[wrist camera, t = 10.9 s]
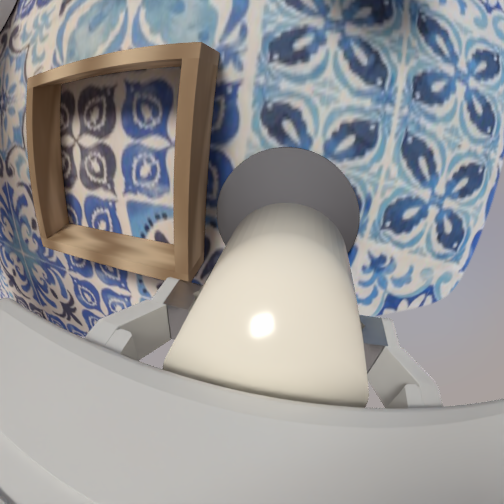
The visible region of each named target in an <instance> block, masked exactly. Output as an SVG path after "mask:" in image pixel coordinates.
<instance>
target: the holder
mask: <svg viewBox="0 0 504 504" xmlns="http://www.w3.org/2000/svg"><path fill="white" fill-rule="evenodd" d="M219 54H220V53H219V52H217V51H216V50H214V49H212V48H211V47H209V46H207V45H206V44H204V43H202V42H192V43H177V44H166V45H156V46H148V47H141V48H135V49H129V50H123V51H118V52H113V53H108V54H104V55H99V56H95V57H91V58H87V59H84V60H80V61H76V62H73V63H70V64H66V65H63V66H60V67H57V68H54V69H51V70H48V71H46V72H43V73H40V74H38V75H35V76H33V77H30V78H28V83H27V104H26V130H27V150H28V163H29V172H30V181H31V188H32V195H33V201H34V207H35V212H36V217H37V222H38V227H39V231H40V235H41V240H42V244H43V247H47V248H50V249H53V250H56V251H59V252H63V253H66V254H69V255H73V256H76V257H79V258H83V259H86V260H90V261H93V262H97V263H100V264H104V265H107V266H111V267H115V268H118V269H122V270H126V271H129V272H133V273H137V274H141V275H145V276H149V277H153V278H157V279H161V280H166V279H167V278H168V277H172V278H176V279H180V280H184V281H188V282H191V281H192V280H193V278H194V276H195V275H196V273H197V271H198V270H199V268H200V267H201V265H202V263H203V262H204V239H205V215H206V195H207V179H208V164H209V150H210V138H211V127H212V116H213V106H214V96H215V87H216V78H217V70H218V62H219ZM180 66H181V75H180V84H179V95H178V107H177V120H176V137H175V159H174V245H173V244H168V243H163V242H158V241H153V240H148V239H143V238H138V237H133V236H128V235H123V234H118V233H113V232H109V231H104V230H99V229H94V228H89V227H84V226H80V225H75V224H70V223H69V219H68V213H67V206H66V199H65V191H64V182H63V172H62V160H61V141H60V101H61V84H64V83H68V82H72V81H76V80H80V79H85V78H89V77H94V76H100V75H105V74H111V73H117V72H124V71H132V70H140V69H150V68H162V67H180Z"/></svg>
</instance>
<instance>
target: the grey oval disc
mask: <svg viewBox="0 0 504 504" xmlns="http://www.w3.org/2000/svg"><path fill="white" fill-rule="evenodd" d="M277 203H294V204H300V205H304V206H307V207H310V208H313V209H315V210H317V211H318V212H320V213H322V214H323V215H325V216H326V217H327V218H329V219H330V220H331V221H332V222H333V223H334V224H335V226H336V227H337V228H338V230H339V231H340V233H341V235H342V237H343V239H344V242H345V246H346V250H347V253H348V252H349V251H350V249H351V247H352V245H353V244H354V241H355V239H356V236H357V232H358V228H359V218H360V217H359V206H358V202H357V198H356V195H355V193H354V190H353V188H352V186H351V185H350V183H349V181H348V179H347V178H346V177H345V175H344V174H343V173H342V172H341V171H340V170H339V169H338V168H337V167H336V166H335V165H334V164H333V163H332V162H330V161H329V160H328V159H326V158H324V157H323V156H321V155H319V154H317V153H314V152H312V151H309V150H305V149H301V148H293V147H279V148H272V149H268V150H265V151H261V152H259V153H257V154H255V155H253V156H251V157H249V158H248V159H246V160H245V161H243V162H242V163H241V164H240V165H239V166H238V167H236V168H235V169H234V170H233V172H232V173H231V174H230V175H229V176H228V178H227V180H226V181H225V183H224V185H223V187H222V189H221V191H220V194H219V198H218V203H217V223H218V228H219V231H220V234H221V237H222V239H223V242H224V243H225V245H227V243H228V241H229V239H230V238H231V236H232V234H233V232H234V231H235V229H236V228H237V226H238V225H239V223H240V222H241V221H242V220H243V219H244V218H245V217H246V216H248V215H249V214H250V213H252V212H253V211H255V210H257V209H259V208H262V207H264V206H267V205H271V204H277Z"/></svg>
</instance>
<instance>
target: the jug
mask: <svg viewBox="0 0 504 504" xmlns="http://www.w3.org/2000/svg"><path fill="white" fill-rule="evenodd" d="M163 370H165V371H169V372H172V373H175V374H178V375H181V376H185V377H188V378H192V379H195V380H199V381H202V382H206V383H210V384H214V385H218V386H222V387H226V388H230V389H234V390H239V391H243V392H248V393H253V394H258V395H263V396H268V397H274V398H280V399H286V400H293V401H299V402H307V403H315V404H324V405H334V406H346V407H362V408H365V406H366V404H367V402H368V397H369V389H368V378H367V368H366V360H365V352H364V344H363V337H362V330H361V324H360V317H359V311H358V305H357V300H356V294H355V289H354V284H353V278H352V273H351V269H350V264H349V259H348V255H347V250H346V246H345V242H344V239H343V237H342V235H341V233H340V231H339V230H338V228H337V227H336V226H335V224H334V223H333V222H332V221H331V220H330V219H329V218H327V217H326V216H325V215H323V214H322V213H320V212H318V211H317V210H315V209H313V208H310V207H307V206H304V205H300V204H294V203H277V204H271V205H267V206H264V207H262V208H259V209H257V210H255V211H253V212H252V213H250V214H249V215H248V216H246V217H245V218H244V219H243V220H242V221H241V222H240V223H239V225H238V226H237V228H236V229H235V231H234V232H233V234H232V236H231V238H230V239H229V241H228V243H227V245H226V247H225V248H224V250H223V252H222V254H221V256H220V257H219V259H218V261H217V263H216V265H215V266H214V268H213V270H212V272H211V274H210V275H209V277H208V279H207V281H206V283H205V285H204V286H203V288H202V290H201V292H200V294H199V296H198V297H197V299H196V301H195V303H194V305H193V307H192V309H191V310H190V312H189V314H188V316H187V318H186V320H185V322H184V324H183V325H182V327H181V329H180V331H179V333H178V335H177V337H176V339H175V341H174V343H173V344H172V346H171V348H170V350H169V352H168V354H167V356H166V358H165V361H164V364H163Z"/></svg>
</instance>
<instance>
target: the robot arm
mask: <svg viewBox="0 0 504 504" xmlns="http://www.w3.org/2000/svg"><path fill="white" fill-rule="evenodd" d="M16 1H17V0H0V31H1V30H2V28H3V26H4V25H5V23H6V21H7V19H8V17H9V15H10V13H11V11H12V9H13V7H14V5H15V3H16ZM203 286H204V285H200V284H196V283H192V282H188V281H184V280H180V279H176V278H172V277H168V278H167V279H166V280H165V281H164V283H163V284H162V285H161V287H160V288H159V289H158V291H157V292H156V293H155V295H154V296H153V297H152V299H151V300H145V301H142V302H140V303H138V304H135V305H133V306H130V307H128V308H126V309H123V310H121V311H118V312H116V313H113V314H111V315H109V316H106V317H104V318H101V319H99V320H98V322H97V323H96V324H95V325H94V327H93V328H92V329H91V330H90V332H89V333H88V334H87V335H86V337H85V338H82V337H80V336H77V335H75V334H73V333H71V332H69V331H67V330H65V329H63V328H61V327H59V326H57V325H55V324H53V323H51V322H50V321H48V320H46V319H44V318H42V317H40V316H39V315H37V314H35V313H33V312H32V311H30V310H28V309H26V308H25V307H23V306H21V305H20V304H18V303H17V302H15V301H14V300H12V299H10V298H2V299H0V504H504V399H500V400H494V401H489V402H482V403H475V404H467V405H458V406H447V407H443V405H442V400H441V397H440V392H439V388H438V385H437V383H436V382H435V381H434V380H433V379H432V378H431V377H430V375H429V374H427V372H426V371H425V370H424V369H423V368H422V367H421V366H420V365H419V364H418V363H417V362H416V361H415V360H414V359H413V358H412V357H411V356H410V355H409V354H408V353H407V351H406V350H405V349H403V348H400V345H399V341H398V338H397V334H396V331H395V327H394V324H393V320H392V319H388V318H377V317H370V316H363V315H359V317H360V324H361V330H362V337H363V344H364V352H365V360H366V368H367V378H368V381H369V383H370V384H371V386H372V388H373V389H374V391H375V392H376V394H377V395H378V397H379V399H380V400H381V402H382V403H383V405H384V406H385V408H362V407H346V406H334V405H324V404H315V403H307V402H299V401H293V400H286V399H280V398H274V397H268V396H263V395H258V394H253V393H248V392H243V391H239V390H234V389H230V388H226V387H222V386H218V385H214V384H210V383H206V382H202V381H199V380H195V379H192V378H188V377H185V376H181V375H178V374H175V373H172V372H169V371H165V370H162V369H159V368H156V367H154V366H151V365H148V364H145V363H142V362H139V360H140V359H141V358H143V357H145V356H146V355H148V354H149V353H151V352H152V351H154V350H156V349H157V348H159V347H160V346H162V345H163V344H165V343H166V342H168V341H169V340H171V339H174V340H175V339H176V337H177V335H178V333H179V331H180V329H181V327H182V325H183V324H184V322H185V320H186V318H187V316H188V314H189V312H190V310H191V309H192V307H193V305H194V303H195V301H196V299H197V297H198V296H199V294H200V292H201V290H202V288H203ZM170 338H171V339H170Z"/></svg>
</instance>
